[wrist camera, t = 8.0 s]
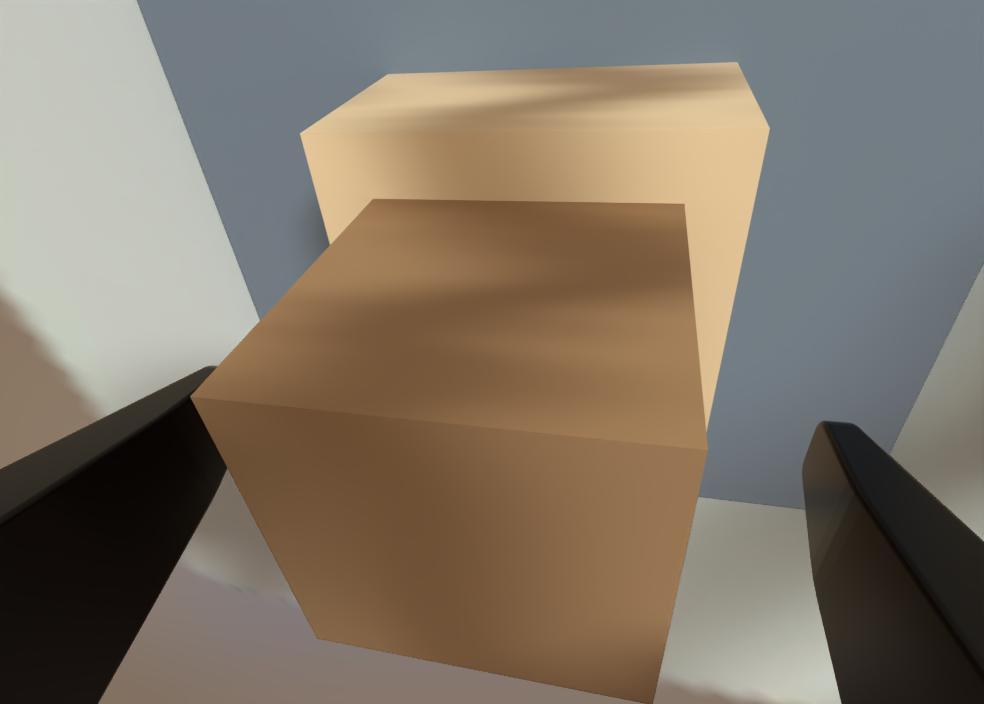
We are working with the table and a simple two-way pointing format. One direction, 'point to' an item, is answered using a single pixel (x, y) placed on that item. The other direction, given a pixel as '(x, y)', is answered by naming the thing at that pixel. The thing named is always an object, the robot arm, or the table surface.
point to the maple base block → (562, 155)
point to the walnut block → (480, 435)
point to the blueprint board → (778, 203)
